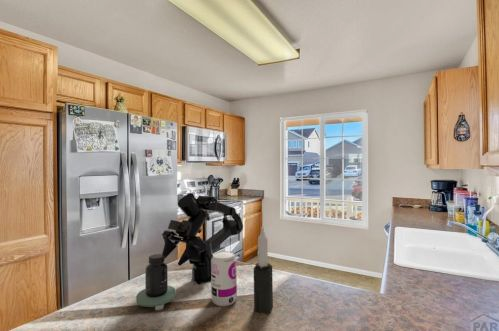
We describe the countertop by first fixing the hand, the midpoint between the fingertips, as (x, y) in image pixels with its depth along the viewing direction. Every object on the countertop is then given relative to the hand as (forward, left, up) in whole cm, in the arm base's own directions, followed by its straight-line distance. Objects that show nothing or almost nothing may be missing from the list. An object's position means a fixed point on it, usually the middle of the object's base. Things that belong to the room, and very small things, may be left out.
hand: (170, 262), depth 90 cm
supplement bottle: (+5, +2, -9) cm, 10 cm away
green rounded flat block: (+5, +2, -11) cm, 13 cm away
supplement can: (-14, +13, -12) cm, 22 cm away
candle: (-22, +24, -12) cm, 35 cm away
